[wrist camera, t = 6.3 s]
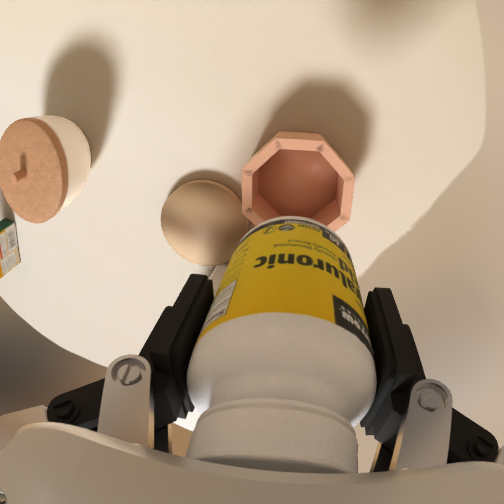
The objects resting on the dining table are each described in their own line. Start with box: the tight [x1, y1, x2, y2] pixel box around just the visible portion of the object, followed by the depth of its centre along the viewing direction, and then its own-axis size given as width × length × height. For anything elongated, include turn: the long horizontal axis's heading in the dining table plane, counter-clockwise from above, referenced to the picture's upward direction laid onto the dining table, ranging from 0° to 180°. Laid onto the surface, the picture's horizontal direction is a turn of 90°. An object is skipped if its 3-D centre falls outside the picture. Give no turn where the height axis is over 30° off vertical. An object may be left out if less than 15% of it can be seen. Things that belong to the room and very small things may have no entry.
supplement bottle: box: [186, 216, 377, 474], centre depth 10 cm, size 5×5×10 cm
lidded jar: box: [0, 115, 91, 223], centre depth 26 cm, size 11×11×9 cm
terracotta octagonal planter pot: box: [242, 131, 355, 232], centre depth 26 cm, size 9×9×5 cm
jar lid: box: [161, 180, 249, 266], centre depth 31 cm, size 9×9×1 cm
